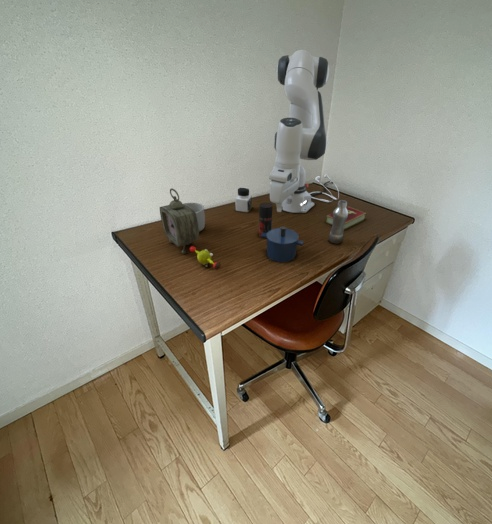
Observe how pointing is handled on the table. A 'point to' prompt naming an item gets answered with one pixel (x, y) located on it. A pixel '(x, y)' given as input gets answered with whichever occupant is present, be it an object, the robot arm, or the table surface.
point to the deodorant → (265, 218)
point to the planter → (198, 214)
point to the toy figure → (204, 257)
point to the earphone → (326, 188)
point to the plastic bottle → (338, 222)
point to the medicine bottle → (243, 200)
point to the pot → (281, 250)
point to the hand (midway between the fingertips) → (284, 207)
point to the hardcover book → (349, 217)
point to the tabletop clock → (179, 222)
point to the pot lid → (282, 236)
